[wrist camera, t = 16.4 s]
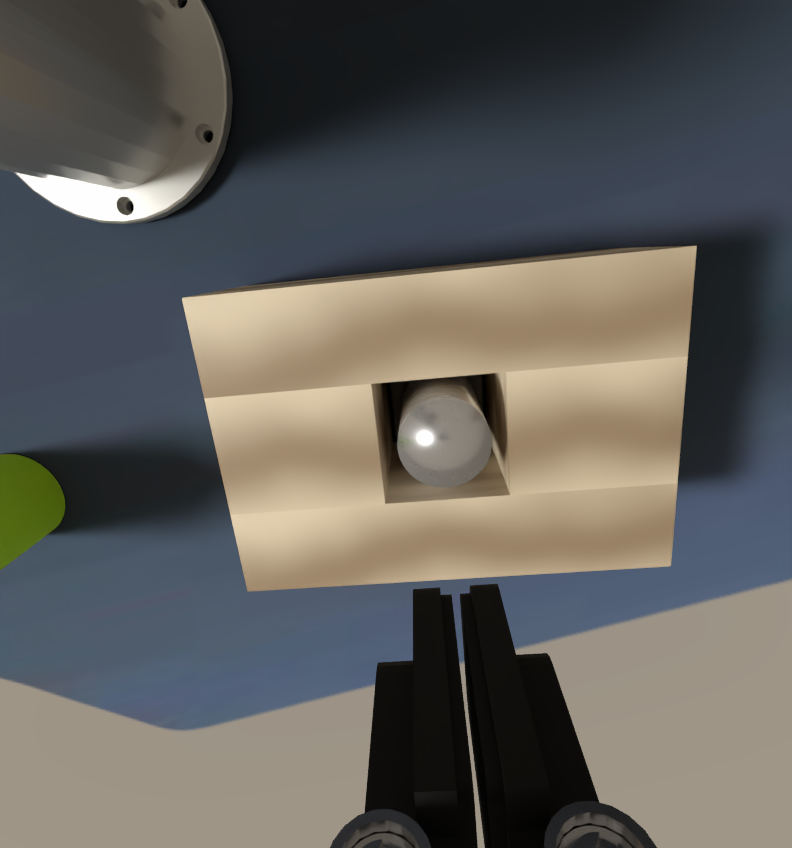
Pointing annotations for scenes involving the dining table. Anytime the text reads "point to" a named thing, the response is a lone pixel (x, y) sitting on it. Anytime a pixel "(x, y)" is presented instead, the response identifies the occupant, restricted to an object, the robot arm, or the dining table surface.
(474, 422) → the peg
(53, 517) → the green soap pump bottle
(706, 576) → the dining table surface
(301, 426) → the socket block
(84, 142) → the robot arm
